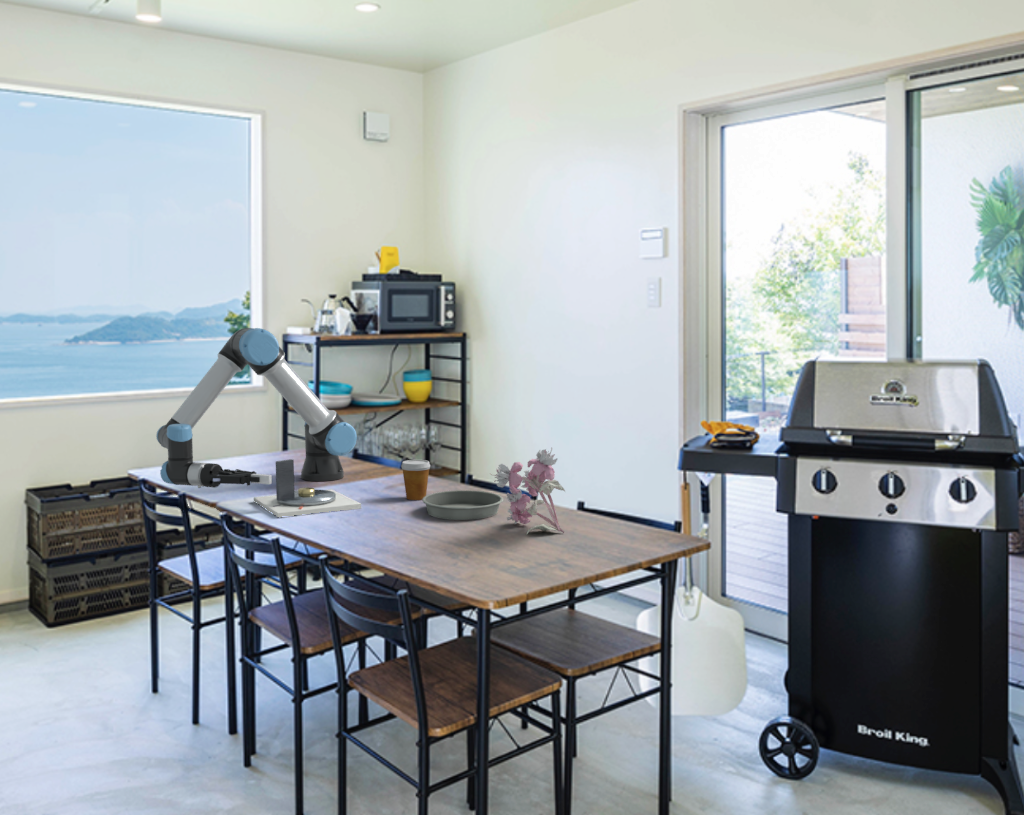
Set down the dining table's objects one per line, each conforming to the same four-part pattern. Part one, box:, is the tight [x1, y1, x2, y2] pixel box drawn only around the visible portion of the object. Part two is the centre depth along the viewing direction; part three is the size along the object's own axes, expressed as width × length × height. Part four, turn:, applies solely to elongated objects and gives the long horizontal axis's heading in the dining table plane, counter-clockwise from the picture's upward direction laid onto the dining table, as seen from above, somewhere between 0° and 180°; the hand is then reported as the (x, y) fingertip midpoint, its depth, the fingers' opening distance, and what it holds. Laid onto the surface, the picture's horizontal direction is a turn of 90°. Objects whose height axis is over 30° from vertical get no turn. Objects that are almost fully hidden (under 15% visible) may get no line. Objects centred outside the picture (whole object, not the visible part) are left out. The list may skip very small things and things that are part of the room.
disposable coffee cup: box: [400, 459, 431, 501], centre depth 305 cm, size 10×10×12 cm
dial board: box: [253, 489, 362, 518], centre depth 295 cm, size 26×26×2 cm
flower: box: [489, 447, 566, 535], centre depth 264 cm, size 20×22×25 cm
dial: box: [275, 458, 336, 506], centre depth 293 cm, size 20×18×13 cm
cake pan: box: [421, 489, 504, 521], centre depth 286 cm, size 25×25×4 cm
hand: (270, 479), depth 290 cm, fingers closed
